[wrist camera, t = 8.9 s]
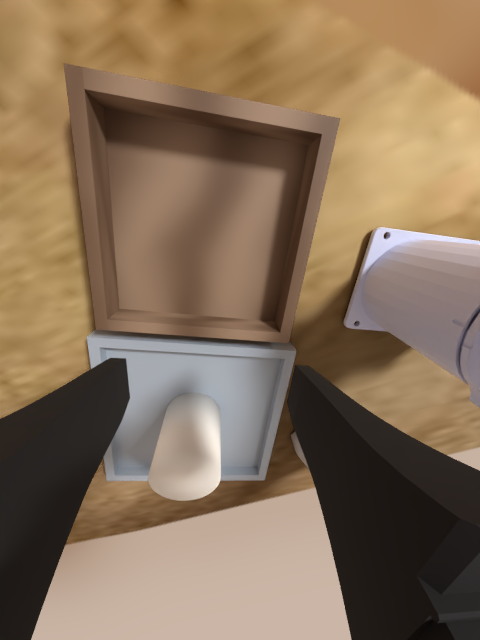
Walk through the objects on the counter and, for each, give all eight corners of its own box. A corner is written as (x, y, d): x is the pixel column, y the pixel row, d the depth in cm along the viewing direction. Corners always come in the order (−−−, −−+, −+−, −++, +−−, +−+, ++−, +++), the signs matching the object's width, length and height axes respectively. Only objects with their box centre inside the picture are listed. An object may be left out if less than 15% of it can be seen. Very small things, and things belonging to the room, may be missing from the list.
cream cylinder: (217, 389, 21) (216, 449, 16) (222, 430, 23) (224, 495, 18) (160, 395, 21) (140, 458, 15) (171, 436, 23) (156, 504, 17)
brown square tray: (321, 134, 15) (340, 118, 13) (280, 328, 20) (288, 343, 18) (90, 90, 13) (63, 63, 11) (111, 315, 18) (95, 329, 16)
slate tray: (291, 342, 21) (296, 351, 19) (262, 466, 27) (264, 480, 25) (96, 328, 19) (86, 337, 17) (113, 466, 25) (106, 480, 23)
